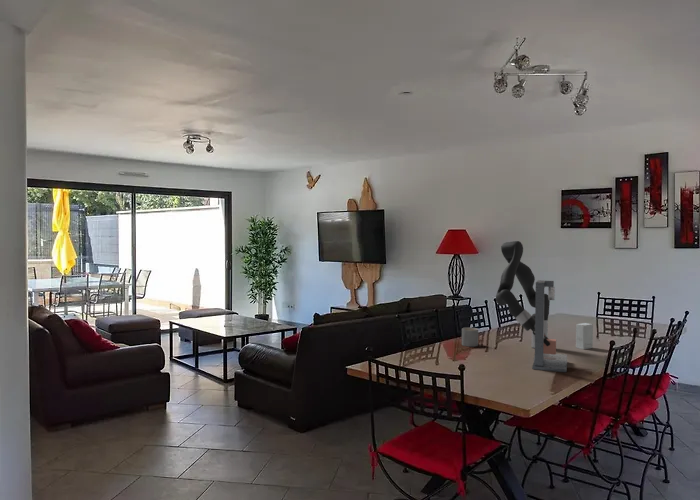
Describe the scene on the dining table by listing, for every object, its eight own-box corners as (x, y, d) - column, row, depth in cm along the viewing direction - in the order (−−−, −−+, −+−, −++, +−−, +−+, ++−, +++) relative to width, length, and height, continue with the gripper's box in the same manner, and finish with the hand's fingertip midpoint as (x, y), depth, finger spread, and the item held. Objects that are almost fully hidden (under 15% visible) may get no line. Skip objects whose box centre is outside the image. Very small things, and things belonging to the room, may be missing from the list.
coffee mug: (474, 347, 318) (474, 330, 317) (459, 345, 323) (459, 329, 323) (482, 343, 328) (482, 327, 328) (467, 341, 334) (467, 326, 334)
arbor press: (535, 359, 286) (536, 279, 285) (567, 362, 280) (568, 280, 279) (532, 369, 264) (533, 282, 263) (566, 372, 258) (567, 283, 257)
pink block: (543, 351, 279) (544, 338, 279) (555, 352, 277) (556, 339, 277) (543, 353, 274) (543, 340, 274) (555, 354, 272) (555, 341, 272)
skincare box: (584, 346, 321) (585, 322, 321) (593, 348, 316) (593, 324, 315) (575, 347, 317) (575, 323, 317) (583, 349, 312) (583, 325, 312)
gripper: (530, 317, 272) (554, 341, 268) (532, 313, 286) (555, 337, 281) (519, 326, 275) (543, 351, 270) (522, 322, 288) (544, 346, 283)
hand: (549, 343), depth 276 cm, fingers closed on pink block, 5 cm apart
